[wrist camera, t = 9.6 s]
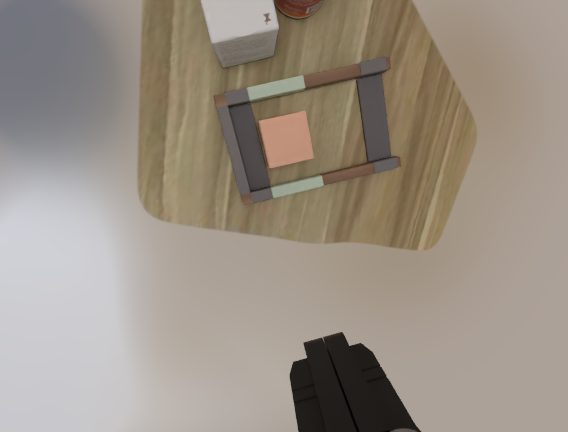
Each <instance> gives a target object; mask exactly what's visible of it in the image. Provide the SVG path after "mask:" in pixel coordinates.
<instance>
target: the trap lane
mask: <svg viewBox="0 0 568 432" xmlns="http://www.w3.org/2000/svg"><path fill="white" fill-rule="evenodd" d="M390 68H391V67H390V57H382V58H378V59H373V60H369V61H364V62H360V63H359V64H354V65H350V66H345V67H341V68H336V69H332V70H327V71H323V72H318V73H314V74H309V75H305V76H303V75H301V76H297V77H292V78H288V79H283V80H279V81H274V82H270V83H265V84H261V85H256V86H252V87H247V88H243V89H238V90H234V91H229V92H225V93H224V94H219V95H215V96H214V100H215V103H216V107H217V111H218V114H219V118H220V122H221V125H222V129H223V132H224V136H225V140H226V143H227V147H228V151H229V154H230V158H231V162H232V165H233V169H234V173H235V176H236V180H237V183H238V187H239V191H240V194H241V198H242V202H243V205H246V204H250V203H256V202H261V201H265V200H269V199H273V198H277V197H281V196H285V195H289V194H293V193H297V192H301V191H305V190H309V189H313V188H318V187H322V186H324V185H327V184H331V183H336V182H340V181H344V180H348V179H352V178H356V177H360V176H364V175H368V174H372V173H379V172H383V171H387V170H391V169H395V168H398V167H401V160H400V157H396V156H393V157H388V156H391V150H390V141H389V133H388V124H387V115H386V107H385V98H384V89H383V81H382V74H380V73H382V72H385V71H387V70H389V69H390ZM375 74H380V75H375ZM371 75H375V76H371ZM367 76H371V77H367ZM362 77H366V78H362ZM358 78H362V79H358ZM351 79H358V80H356V81H357V88H358V96H359V103H360V110H361V117H362V124H363V132H364V139H365V146H366V153H367V160H368V161H371V162H368V163H365V164H361V165H356V166H352V167H348V168H344V169H340V170H336V171H332V172H328V173H324V174H318V175H314V176H310V177H305V178H301V179H297V180H293V181H289V182H285V183H281V184H277V185H273V186H269V185H270V183H269V179H268V175H267V171H266V166H265V162H264V158H263V154H262V150H261V146H260V142H259V137H258V133H257V129H256V125H255V121H254V117H253V113H252V108H251V104H247V103H251V102H256V101H260V100H265V99H269V98H273V97H278V96H282V95H287V94H291V93H296V92H300V91H303V90H307V89H311V88H316V87H320V86H324V85H329V84H333V83H338V82H342V81H347V80H351ZM242 104H247V105H242ZM238 105H242V106H238ZM233 106H238V107H234V108H229V107H233ZM384 157H388V158H384ZM380 158H384V159H380ZM376 159H379V160H376ZM372 160H375V161H372ZM265 186H268V187H265ZM261 187H264V188H261ZM257 188H260V189H257ZM252 189H256V190H252ZM251 190H252V191H251Z"/></svg>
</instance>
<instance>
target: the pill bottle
mask: <svg viewBox="0 0 568 432" xmlns="http://www.w3.org/2000/svg"><path fill="white" fill-rule="evenodd" d="M273 1H274V3H275V5H276V6H277V7H278V9H279V10H280V11H281V12H282V13H284V14H285V15H287V16H289V17H292V18H305V17H308V16H310V15H312V14H313V13H315V12H316V11H317V10H318V9H319V7H320V6H321V4H322V3H323V1H324V0H273Z"/></svg>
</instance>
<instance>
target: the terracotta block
mask: <svg viewBox="0 0 568 432" xmlns="http://www.w3.org/2000/svg"><path fill="white" fill-rule="evenodd" d="M258 125H259V130H260V134H261V139H262V143H263V147H264V152H265V156H266V161H267V165H268V167H269V168H274V167H278V166H283V165H287V164H292V163H296V162H300V161H305V160H309V159H314V155H313V150H312V144H311V139H310V133H309V127H308V122H307V116H306V111H302V112H298V113H293V114H288V115H284V116H279V117H274V118H270V119H265V120H261V121H259V123H258Z"/></svg>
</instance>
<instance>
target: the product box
mask: <svg viewBox="0 0 568 432" xmlns="http://www.w3.org/2000/svg"><path fill="white" fill-rule="evenodd" d="M200 3H201V7H202V10H203V14H204V18H205V21H206V25H207V29H208V33H209V36H210V41H211V44H212V46H213V48H214V50H215V53H216V55H217V58H218V60H219V62H220V64H221V66H222V68H225V67H230V66H234V65H239V64H243V63H247V62H252V61H256V60H260V59H264V58H268V57H272V56H273V55H274V51H275V45H276V40H277V35H278V30H279V25H278V20H277V15H276V10H275V5H274V1H273V0H200Z"/></svg>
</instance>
